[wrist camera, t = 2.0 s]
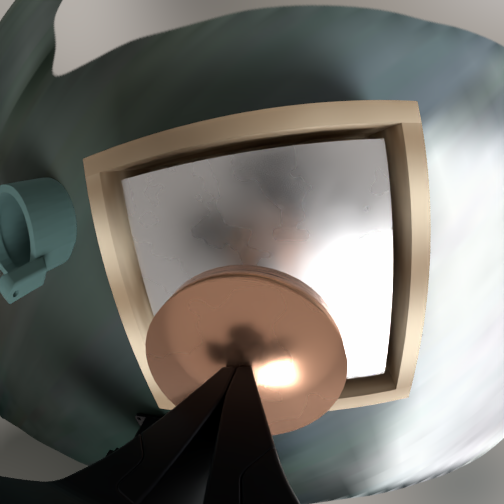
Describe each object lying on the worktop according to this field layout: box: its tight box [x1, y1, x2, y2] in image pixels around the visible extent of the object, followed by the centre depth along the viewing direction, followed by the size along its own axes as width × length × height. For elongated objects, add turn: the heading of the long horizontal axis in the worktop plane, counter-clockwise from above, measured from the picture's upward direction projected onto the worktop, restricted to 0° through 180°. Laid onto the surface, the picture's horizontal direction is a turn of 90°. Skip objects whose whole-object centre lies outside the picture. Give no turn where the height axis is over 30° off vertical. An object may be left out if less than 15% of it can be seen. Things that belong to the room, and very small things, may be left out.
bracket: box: [0, 178, 77, 304], centre depth 17 cm, size 9×9×9 cm
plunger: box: [121, 139, 393, 435], centre depth 11 cm, size 13×13×7 cm
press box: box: [83, 100, 430, 411], centre depth 16 cm, size 16×16×6 cm
